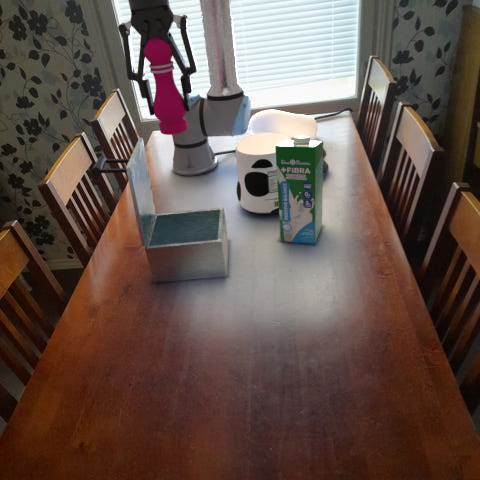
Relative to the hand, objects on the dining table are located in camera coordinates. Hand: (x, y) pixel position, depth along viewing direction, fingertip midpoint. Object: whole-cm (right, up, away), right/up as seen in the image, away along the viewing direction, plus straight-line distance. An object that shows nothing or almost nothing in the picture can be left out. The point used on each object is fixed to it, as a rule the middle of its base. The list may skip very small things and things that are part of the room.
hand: (170, 111), depth 100 cm
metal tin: (+3, -31, +16) cm, 35 cm away
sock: (+31, +19, +67) cm, 76 cm away
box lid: (-6, -17, +3) cm, 18 cm away
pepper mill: (0, -3, +3) cm, 4 cm away
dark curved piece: (+34, +1, +46) cm, 57 cm away
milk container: (+23, -12, +33) cm, 43 cm away
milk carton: (+31, -23, +20) cm, 44 cm away
